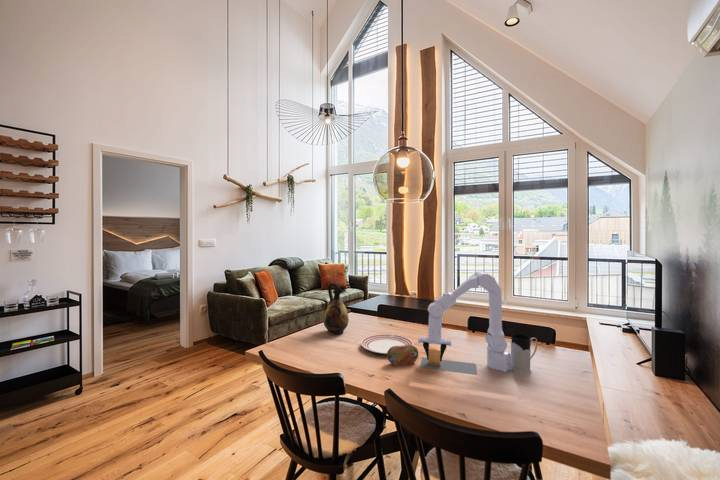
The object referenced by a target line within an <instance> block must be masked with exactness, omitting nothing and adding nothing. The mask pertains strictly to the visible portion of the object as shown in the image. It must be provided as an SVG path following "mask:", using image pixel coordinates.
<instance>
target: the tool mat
mask: <svg viewBox="0 0 720 480" xmlns="http://www.w3.org/2000/svg"><path fill="white" fill-rule="evenodd" d="M419 368H420V369H427V370H436V371H442V372H452V373H461V374H467V375H469V374H470V375H474V376H477V375H478V369H477V364H476V363H473V362H465V361H457V360H456V361H455V360H450V359H448V360H447V359H442V361H440V366H439V365H431V364H428V360H427V357H421V360H420V365H419Z"/></svg>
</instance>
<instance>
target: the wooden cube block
mask: <svg viewBox="0 0 720 480" xmlns="http://www.w3.org/2000/svg"><path fill="white" fill-rule="evenodd" d="M440 355H441V346H436V345H435V346H434V345H429V358H428V364H431V365H439V366H440Z"/></svg>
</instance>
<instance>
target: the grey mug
mask: <svg viewBox="0 0 720 480" xmlns="http://www.w3.org/2000/svg"><path fill="white" fill-rule="evenodd" d="M534 339H535V346H534V351H533V353H532V352H531V345H532V341H533V340H534ZM537 350H538V339H537V338H536V337H531V336H528V335H526V334H521V333H513V334H512V335H511V342H510V355H511V372H513V373H515V374H519V375H530V374H532V370H531V359H533V357H534V356H535V354H536V352H537ZM531 353H532V354H531Z"/></svg>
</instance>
